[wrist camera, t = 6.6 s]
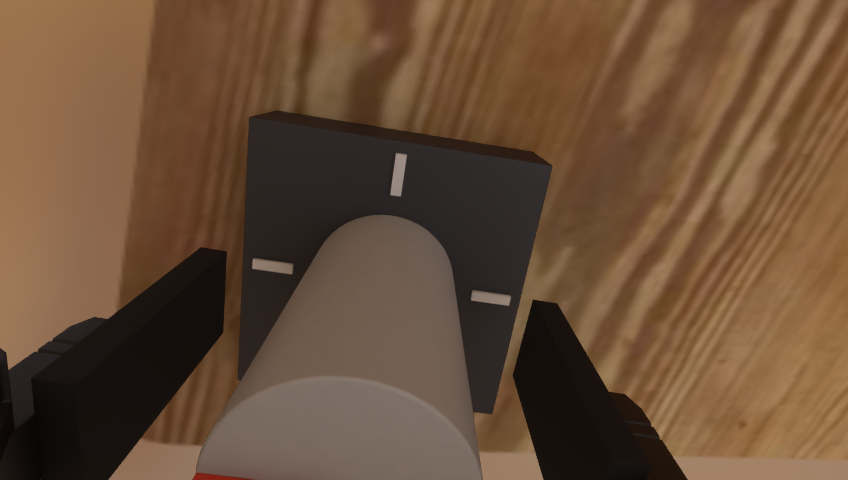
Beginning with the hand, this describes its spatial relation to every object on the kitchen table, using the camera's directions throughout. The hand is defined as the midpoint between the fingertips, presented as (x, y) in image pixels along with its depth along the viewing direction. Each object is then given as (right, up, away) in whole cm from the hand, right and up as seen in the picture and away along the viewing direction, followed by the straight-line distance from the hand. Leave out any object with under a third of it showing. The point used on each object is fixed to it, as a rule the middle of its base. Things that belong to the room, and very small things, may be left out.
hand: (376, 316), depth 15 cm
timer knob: (0, +1, +2) cm, 3 cm away
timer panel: (0, +2, +5) cm, 6 cm away
